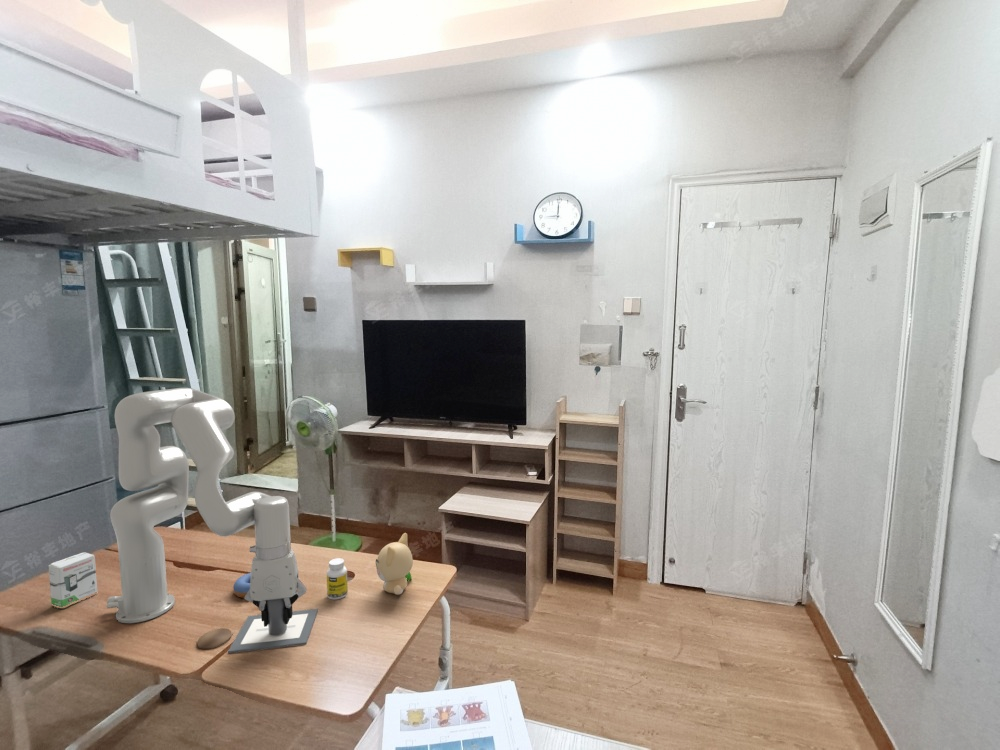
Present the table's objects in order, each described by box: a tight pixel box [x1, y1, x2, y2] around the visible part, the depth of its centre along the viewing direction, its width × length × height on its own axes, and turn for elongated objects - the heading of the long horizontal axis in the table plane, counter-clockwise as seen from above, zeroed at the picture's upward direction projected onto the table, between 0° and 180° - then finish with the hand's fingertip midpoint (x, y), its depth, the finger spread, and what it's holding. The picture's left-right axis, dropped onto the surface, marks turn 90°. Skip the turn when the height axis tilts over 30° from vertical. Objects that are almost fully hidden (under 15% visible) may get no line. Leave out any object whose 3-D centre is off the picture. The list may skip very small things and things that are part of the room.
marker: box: [267, 598, 287, 635], centre depth 116 cm, size 4×4×11 cm
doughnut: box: [233, 572, 251, 599], centre depth 137 cm, size 10×10×5 cm
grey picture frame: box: [227, 608, 319, 654], centre depth 118 cm, size 17×14×1 cm
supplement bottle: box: [326, 557, 349, 601], centre depth 134 cm, size 5×5×10 cm
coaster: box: [197, 627, 233, 650], centre depth 115 cm, size 7×7×1 cm
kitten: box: [375, 532, 414, 596], centre depth 136 cm, size 15×10×15 cm, turn 164°
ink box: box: [48, 551, 98, 607], centre depth 132 cm, size 9×5×12 cm, turn 159°
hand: (277, 621), depth 116 cm, fingers closed on marker, 3 cm apart
